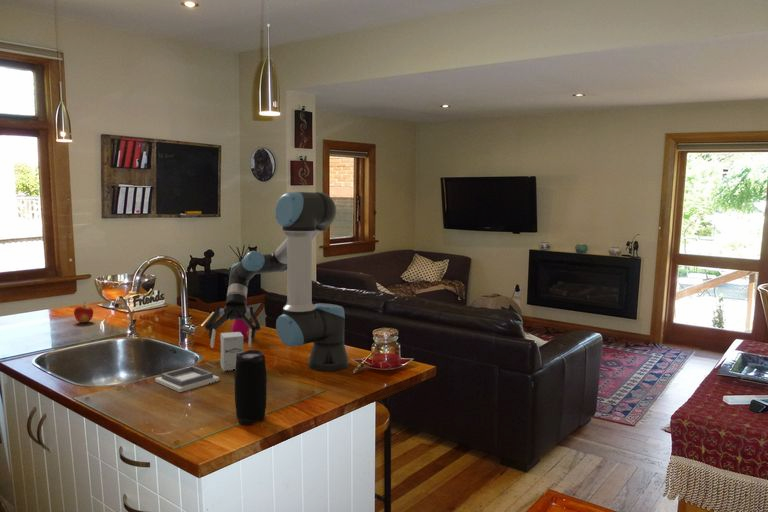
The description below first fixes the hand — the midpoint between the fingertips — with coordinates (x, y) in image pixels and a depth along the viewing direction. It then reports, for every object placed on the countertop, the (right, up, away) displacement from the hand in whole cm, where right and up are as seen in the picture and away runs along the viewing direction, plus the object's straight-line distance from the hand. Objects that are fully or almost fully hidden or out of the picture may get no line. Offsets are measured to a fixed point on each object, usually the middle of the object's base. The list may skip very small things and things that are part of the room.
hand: (230, 346), depth 208 cm
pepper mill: (-6, -3, +40) cm, 40 cm away
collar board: (-10, -9, -16) cm, 21 cm away
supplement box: (+1, -8, 0) cm, 8 cm away
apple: (-87, +1, +62) cm, 107 cm away
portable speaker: (+18, -14, -46) cm, 52 cm away
